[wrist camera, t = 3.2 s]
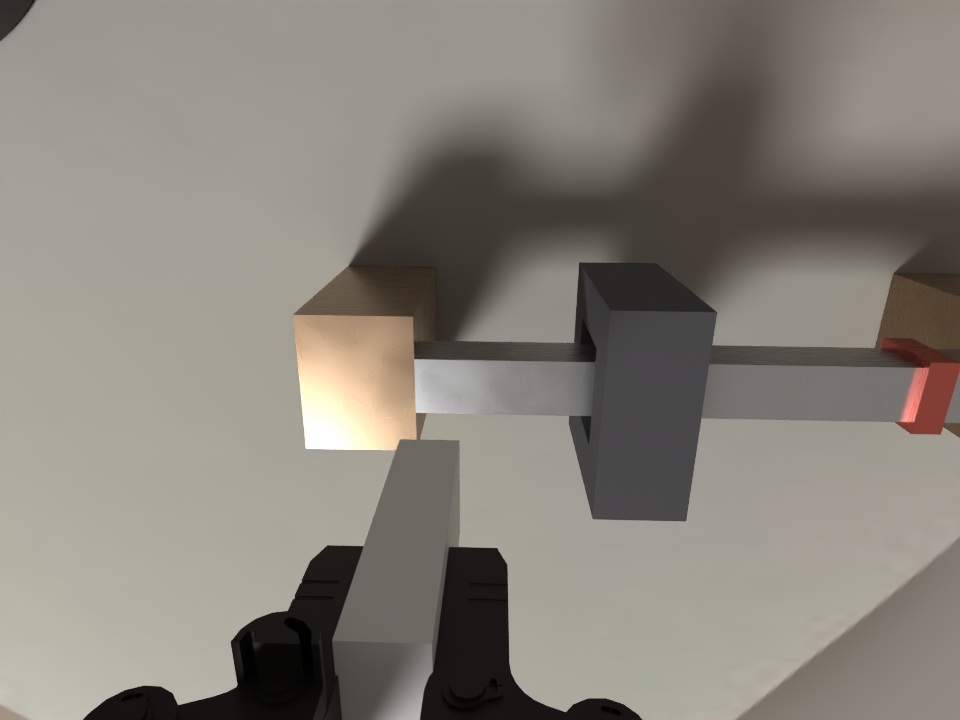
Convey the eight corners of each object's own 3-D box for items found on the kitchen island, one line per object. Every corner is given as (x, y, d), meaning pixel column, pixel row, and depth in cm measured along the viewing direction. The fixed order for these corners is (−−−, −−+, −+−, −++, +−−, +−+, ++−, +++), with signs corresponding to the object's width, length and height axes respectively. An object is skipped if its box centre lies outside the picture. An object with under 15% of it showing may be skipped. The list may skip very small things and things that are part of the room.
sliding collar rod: (348, 266, 28) (289, 317, 20) (961, 274, 27) (1148, 330, 19) (354, 368, 29) (303, 452, 22) (932, 378, 29) (1092, 468, 21)
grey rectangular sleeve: (579, 262, 24) (610, 310, 17) (656, 263, 24) (717, 312, 17) (568, 423, 26) (592, 519, 20) (638, 424, 26) (686, 521, 20)
